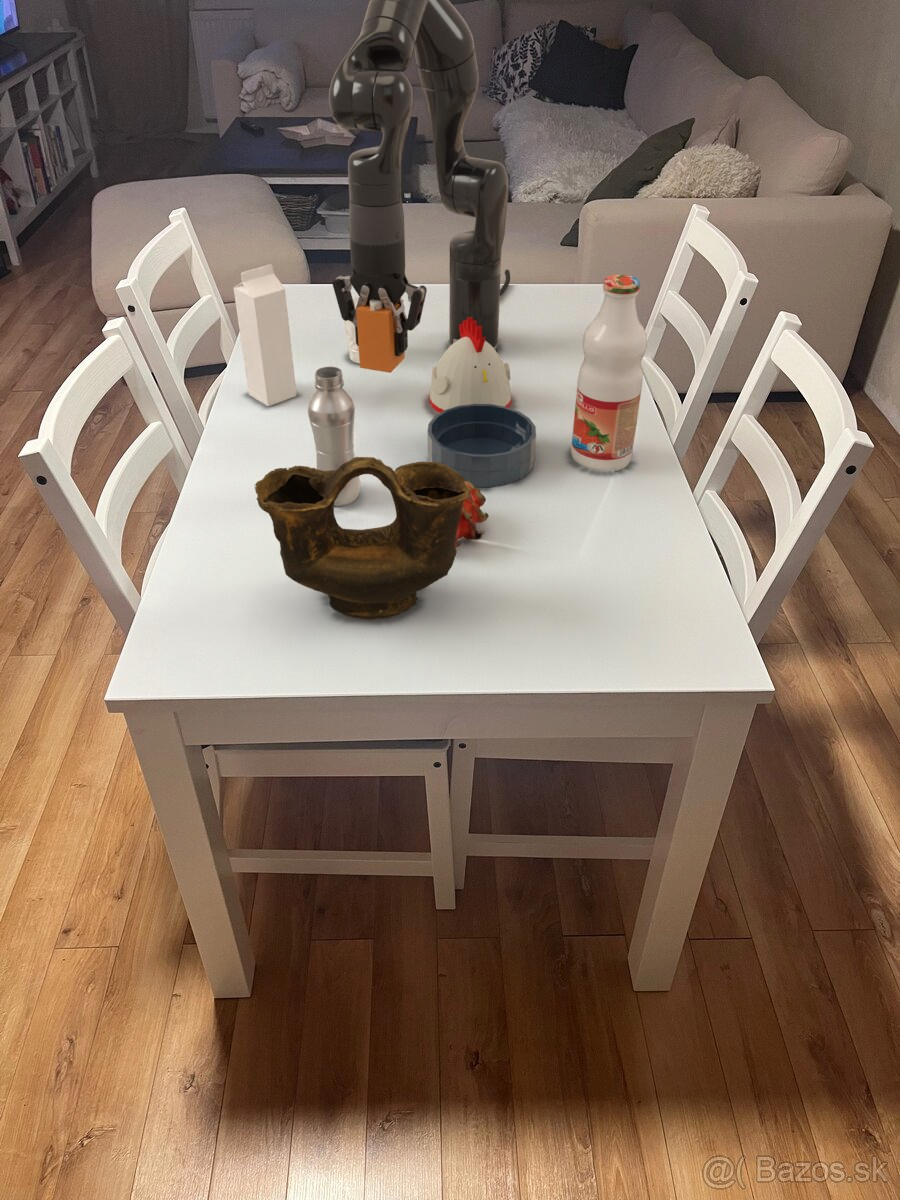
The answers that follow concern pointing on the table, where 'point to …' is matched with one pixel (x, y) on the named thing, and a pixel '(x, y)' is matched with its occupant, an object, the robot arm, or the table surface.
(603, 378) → the fruit juice
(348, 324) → the white cup
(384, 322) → the carton
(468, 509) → the dragon fruit
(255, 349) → the milk
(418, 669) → the table surface
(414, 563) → the pottery vessel
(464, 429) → the bowl
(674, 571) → the table surface
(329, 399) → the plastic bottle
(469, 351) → the kitchen timer
